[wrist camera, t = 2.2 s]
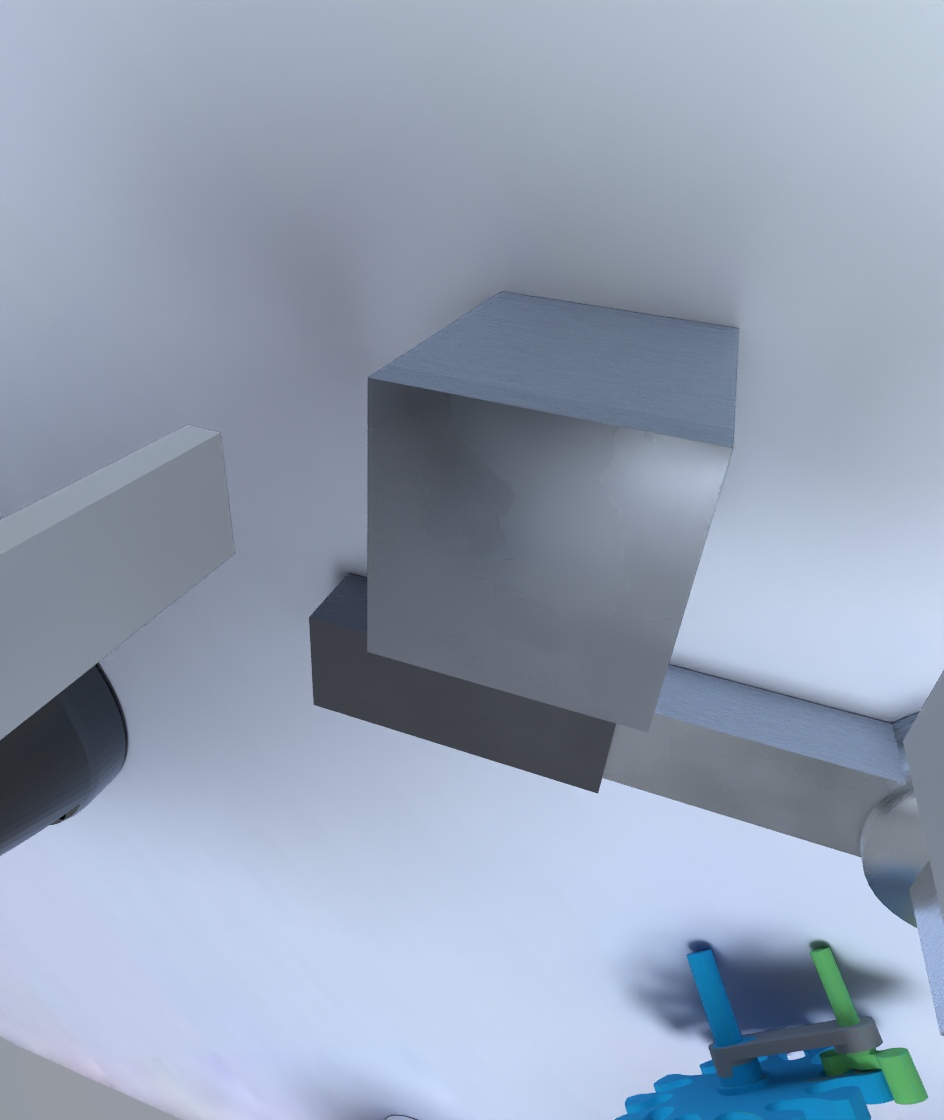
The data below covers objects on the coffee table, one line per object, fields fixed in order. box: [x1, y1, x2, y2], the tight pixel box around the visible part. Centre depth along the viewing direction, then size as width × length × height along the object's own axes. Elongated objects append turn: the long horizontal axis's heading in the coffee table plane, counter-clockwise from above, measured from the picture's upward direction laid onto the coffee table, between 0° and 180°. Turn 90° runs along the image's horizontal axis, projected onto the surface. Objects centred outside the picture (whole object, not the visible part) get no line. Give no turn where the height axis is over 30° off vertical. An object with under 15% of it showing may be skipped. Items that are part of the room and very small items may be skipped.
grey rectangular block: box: [367, 292, 739, 733], centre depth 16 cm, size 6×6×8 cm
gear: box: [615, 947, 928, 1120], centre depth 27 cm, size 11×6×10 cm
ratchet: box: [309, 573, 944, 1036], centre depth 20 cm, size 24×6×7 cm, turn 86°
